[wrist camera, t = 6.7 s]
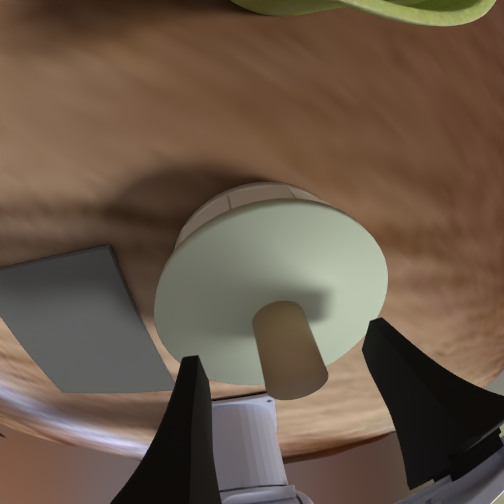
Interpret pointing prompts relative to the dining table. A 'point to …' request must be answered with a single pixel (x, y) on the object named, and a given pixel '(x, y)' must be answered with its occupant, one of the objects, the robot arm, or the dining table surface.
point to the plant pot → (381, 9)
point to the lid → (271, 294)
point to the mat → (81, 324)
